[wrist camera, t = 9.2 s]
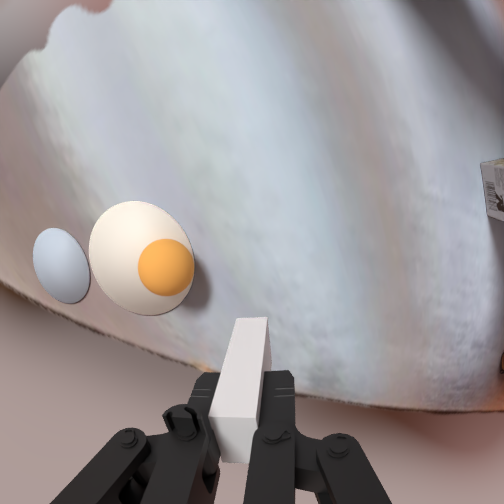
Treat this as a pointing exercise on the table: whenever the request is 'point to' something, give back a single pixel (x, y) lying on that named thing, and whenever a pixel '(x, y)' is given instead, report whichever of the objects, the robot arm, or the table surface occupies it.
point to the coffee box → (494, 187)
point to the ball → (166, 267)
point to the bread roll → (502, 365)
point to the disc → (132, 254)
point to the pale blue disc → (61, 265)
